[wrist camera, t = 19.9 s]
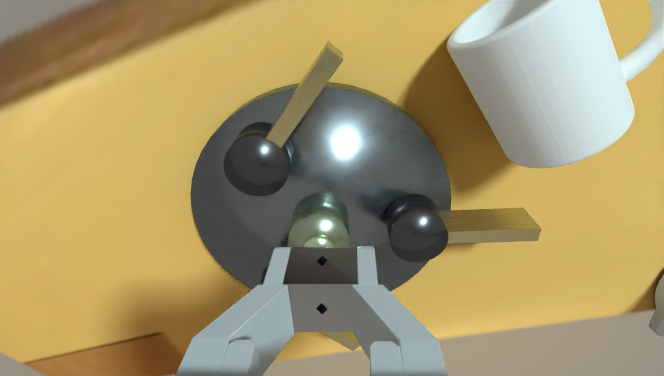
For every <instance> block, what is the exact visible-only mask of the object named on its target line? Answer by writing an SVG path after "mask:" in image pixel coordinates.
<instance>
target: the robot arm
mask: <svg viewBox="0 0 664 376" xmlns="http://www.w3.org/2000/svg"><path fill="white" fill-rule="evenodd" d="M655 304H656V311H655V313H654V315H653V317H652V319H651V321H650V324H649V327H650V328H651V329H652V330H653V331H654V332H655V333H656V334H658V335H660V336H664V275H663V276H662V278H661V279H660V281H659V283H658V285H657V288H656V291H655ZM314 331H328V332H353V334H354V336H355V337H356V339H357V341H358V342H359V344H360V345H361V347H362V348H363V350H364V352H365V353H366V354H367V356H368V358H369V359H370V376H448V375H447V371H446V367H445V364H444V360H443V356H442V352H441V348H440V344H439V341H438V340H437V339H436V338H435V337H434V336H433V335H432V334H431V333H430V332H429V331H428V330H427V329H426V328H425V327H424V326H423V325H422V324H421V323H420V322H419V320H418V319H417V318H416V317H415V316H414V315H413V314H412V313H411V312H410V311H409V310H408V309H407V308H406V307H405V306H404V305H403V304H402V303H401V302H400V301H399V300H398V299H397V298H396V297H395V296H394V295H393V294H392V293H391V292H390V291H389V290H388V289H387V288H386V287H385V286H384V285H378V281H377V270H376V260H375V250H374V247H373V246H359V247H357V248H356V247H276V248H275V249H274V250H273V253H272V256H271V260H270V263H269V266H268V269H267V273H266V276H265V279H264V282H263V285H257V286H256V287H255V288H253V289H252V290H251V291H250V292H248V293H247V294H246V295H245V296H244V297H242V298H241V299H240V300H239V301H237V302H236V303H235V304H234V305H232V306H231V307H230V308H229V309H228V310H226V311H225V312H224V313H223V314H221V315H220V316H219V317H218V318H216V319H215V320H214V321H213V322H212V323H210V324H209V325H208V326H207V327H205V328H204V329H203V330H202V331H200V332H199V333H198V334H197V335H196V336H194V337H193V338H192V341H191V343H190V345H189V347H188V349H187V351H186V353H185V356H184V358H183V360H182V362H181V364H180V366H179V368H178V371H177V373H176V375H175V376H263V373H264V372H265V371H266V370H267V368H268V367H269V366H270V364H271V363H272V362H273V361H274V359H275V358H276V357H277V355H278V354H279V353H280V352H281V350H282V349H283V348H284V347H285V345H286V344H287V343H288V341H289V340H290V339H291V338H292V336H293V335H294V334H295V333H294V332H314Z"/></svg>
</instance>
